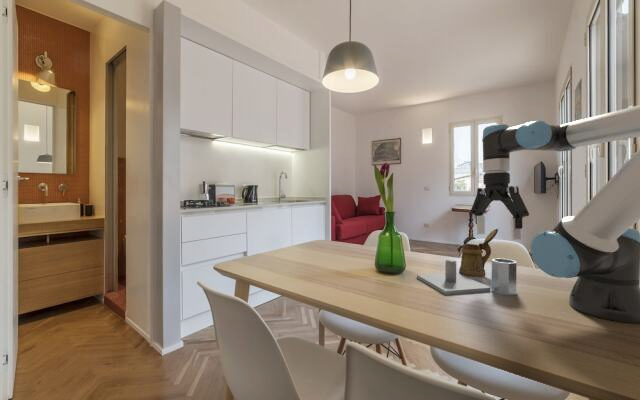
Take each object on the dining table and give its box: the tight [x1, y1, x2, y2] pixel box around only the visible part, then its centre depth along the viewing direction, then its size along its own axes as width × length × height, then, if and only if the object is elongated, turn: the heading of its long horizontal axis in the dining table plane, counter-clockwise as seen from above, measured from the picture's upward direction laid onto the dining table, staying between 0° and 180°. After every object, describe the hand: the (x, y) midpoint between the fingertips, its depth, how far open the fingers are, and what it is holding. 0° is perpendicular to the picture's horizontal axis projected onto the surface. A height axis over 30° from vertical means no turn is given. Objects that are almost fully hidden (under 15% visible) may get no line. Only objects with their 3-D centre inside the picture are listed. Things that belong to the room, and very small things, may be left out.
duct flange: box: [416, 259, 492, 296], centre depth 99 cm, size 18×16×8 cm
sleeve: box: [491, 257, 518, 296], centre depth 91 cm, size 7×7×10 cm
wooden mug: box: [458, 228, 499, 277], centre depth 111 cm, size 9×14×18 cm, turn 71°
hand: (497, 236), depth 94 cm, fingers open, 13 cm apart
